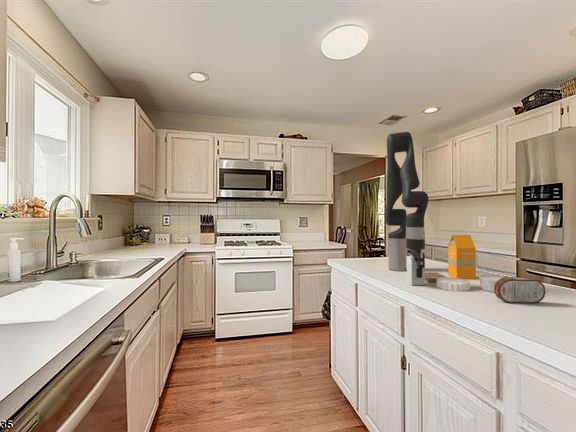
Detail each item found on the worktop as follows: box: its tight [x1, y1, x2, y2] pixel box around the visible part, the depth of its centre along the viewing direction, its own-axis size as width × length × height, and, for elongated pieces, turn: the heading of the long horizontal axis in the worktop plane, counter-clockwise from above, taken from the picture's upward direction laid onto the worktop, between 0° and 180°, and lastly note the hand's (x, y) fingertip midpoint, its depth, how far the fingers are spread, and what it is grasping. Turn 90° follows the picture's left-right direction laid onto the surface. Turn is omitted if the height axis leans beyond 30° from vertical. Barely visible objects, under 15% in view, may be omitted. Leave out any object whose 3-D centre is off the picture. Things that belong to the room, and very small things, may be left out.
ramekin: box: [478, 274, 506, 294], centre depth 117 cm, size 11×11×5 cm
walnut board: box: [425, 271, 447, 284], centre depth 140 cm, size 16×10×2 cm, turn 176°
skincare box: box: [406, 255, 426, 286], centre depth 128 cm, size 6×4×12 cm
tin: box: [494, 276, 546, 304], centre depth 101 cm, size 15×3×8 cm, turn 84°
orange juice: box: [447, 234, 477, 280], centre depth 143 cm, size 8×9×20 cm
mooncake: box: [436, 276, 471, 292], centre depth 123 cm, size 12×12×4 cm
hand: (415, 275), depth 128 cm, fingers open, 8 cm apart
